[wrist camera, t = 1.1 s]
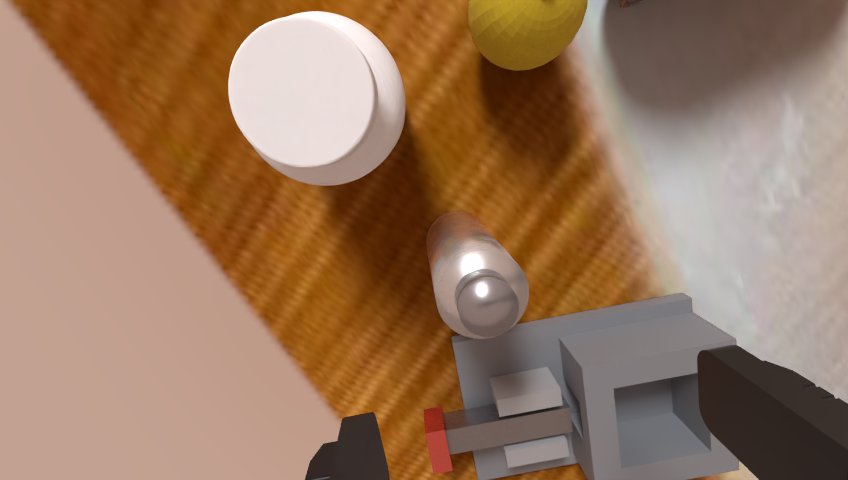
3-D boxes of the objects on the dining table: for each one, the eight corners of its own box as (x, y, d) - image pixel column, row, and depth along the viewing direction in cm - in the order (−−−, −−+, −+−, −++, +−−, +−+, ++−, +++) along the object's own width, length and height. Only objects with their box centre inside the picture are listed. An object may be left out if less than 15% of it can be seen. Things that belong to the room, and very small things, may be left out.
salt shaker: (482, 205, 28) (532, 251, 17) (491, 264, 29) (545, 345, 18) (420, 217, 28) (429, 270, 17) (432, 276, 29) (447, 363, 18)
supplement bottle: (279, 146, 27) (168, 154, 14) (313, 36, 25) (223, -60, 13) (383, 185, 28) (364, 225, 15) (421, 81, 26) (435, 30, 14)
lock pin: (559, 383, 29) (573, 405, 27) (564, 422, 30) (578, 447, 28) (423, 408, 29) (425, 433, 27) (431, 446, 30) (434, 474, 28)
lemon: (541, 87, 27) (596, 67, 19) (451, 69, 26) (469, 40, 18) (564, -12, 25) (633, -79, 18) (470, -33, 25) (498, -111, 17)
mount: (682, 292, 30) (735, 323, 25) (689, 431, 32) (739, 483, 28) (451, 336, 30) (459, 375, 25) (476, 471, 33) (488, 529, 28)
